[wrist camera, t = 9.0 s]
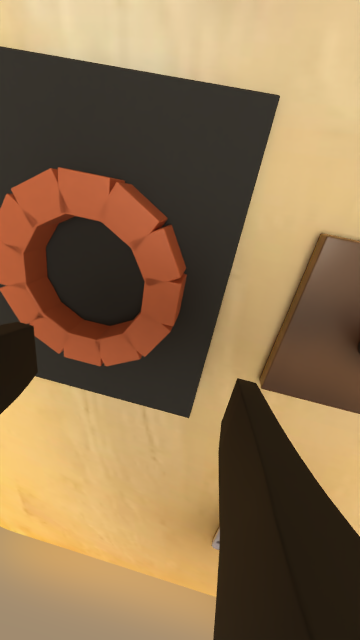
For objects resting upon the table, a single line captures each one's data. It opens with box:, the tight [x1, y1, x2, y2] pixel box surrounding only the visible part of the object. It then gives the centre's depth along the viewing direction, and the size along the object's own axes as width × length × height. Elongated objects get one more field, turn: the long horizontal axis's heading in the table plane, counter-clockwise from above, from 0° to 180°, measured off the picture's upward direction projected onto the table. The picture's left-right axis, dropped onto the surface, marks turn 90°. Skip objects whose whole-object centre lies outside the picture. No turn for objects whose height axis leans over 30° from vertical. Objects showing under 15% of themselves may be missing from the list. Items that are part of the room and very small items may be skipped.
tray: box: [0, 46, 280, 418], centre depth 16 cm, size 20×16×1 cm
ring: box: [0, 167, 187, 366], centre depth 15 cm, size 11×11×2 cm
